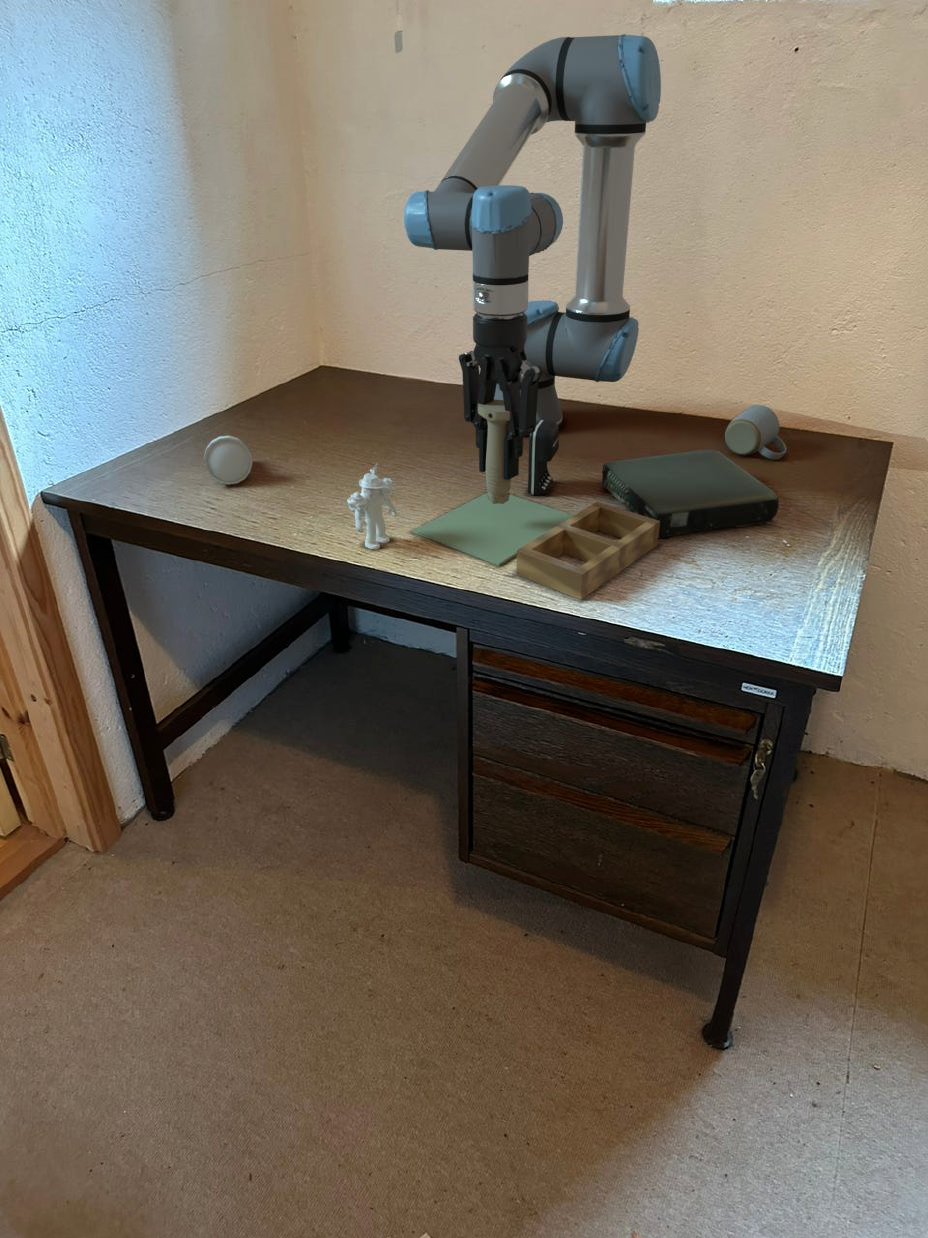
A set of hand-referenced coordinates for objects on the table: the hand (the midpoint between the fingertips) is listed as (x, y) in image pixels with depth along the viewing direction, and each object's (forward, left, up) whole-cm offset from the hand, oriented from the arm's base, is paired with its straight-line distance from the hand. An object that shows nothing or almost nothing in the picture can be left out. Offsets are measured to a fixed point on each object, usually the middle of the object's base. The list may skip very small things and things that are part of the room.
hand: (498, 472), depth 129 cm
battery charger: (-16, -3, -9) cm, 19 cm away
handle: (0, 0, -5) cm, 5 cm away
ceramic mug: (-54, +18, -9) cm, 58 cm away
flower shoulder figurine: (+16, -11, -9) cm, 21 cm away
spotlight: (+14, -50, -9) cm, 53 cm away
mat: (0, -1, -9) cm, 9 cm away
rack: (0, +17, -9) cm, 19 cm away
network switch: (-25, +19, -9) cm, 33 cm away
